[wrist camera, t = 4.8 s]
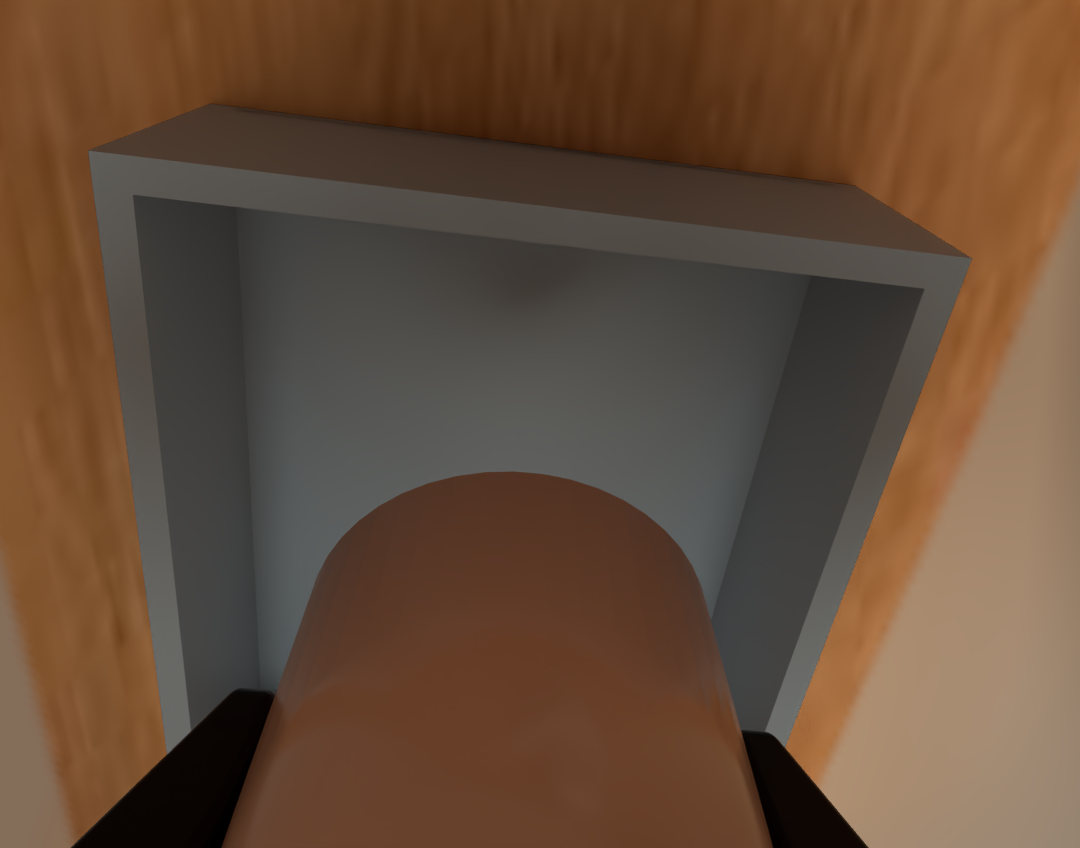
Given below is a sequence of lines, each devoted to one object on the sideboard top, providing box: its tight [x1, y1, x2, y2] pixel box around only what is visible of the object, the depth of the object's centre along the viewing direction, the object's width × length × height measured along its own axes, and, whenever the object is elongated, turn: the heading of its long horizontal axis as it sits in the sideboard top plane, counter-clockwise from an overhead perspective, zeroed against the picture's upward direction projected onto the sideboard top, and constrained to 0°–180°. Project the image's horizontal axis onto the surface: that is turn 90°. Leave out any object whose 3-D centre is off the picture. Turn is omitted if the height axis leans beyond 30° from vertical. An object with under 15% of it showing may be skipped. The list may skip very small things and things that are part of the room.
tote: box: [88, 104, 972, 754], centre depth 20 cm, size 17×14×6 cm
